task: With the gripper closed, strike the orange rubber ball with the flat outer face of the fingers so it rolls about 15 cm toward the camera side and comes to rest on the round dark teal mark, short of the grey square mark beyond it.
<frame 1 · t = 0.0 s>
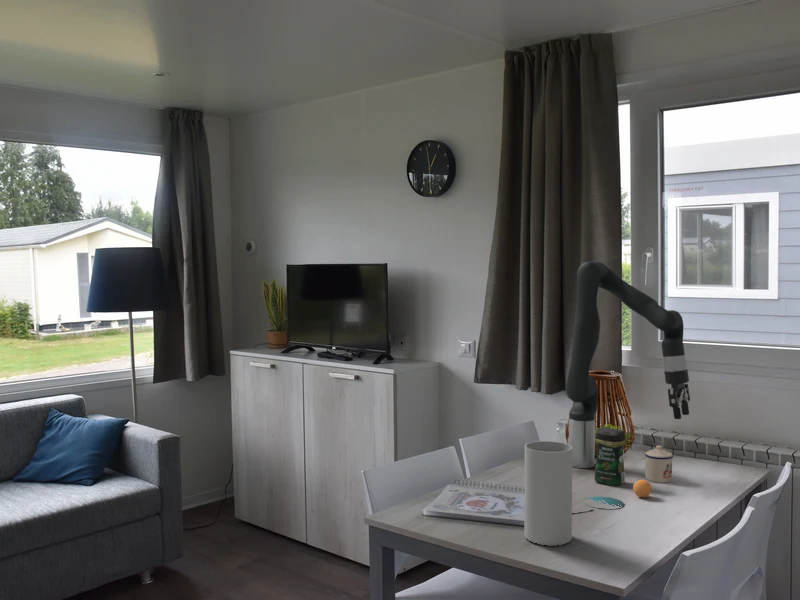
hand: (681, 416, 250), 22 cm above the table, tool pointing down, fingers open, 8 cm apart
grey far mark: (571, 508, 224), on the table
ball: (642, 488, 234), on the table
coffee jar: (609, 483, 250), on the table
teal mark: (603, 503, 228), on the table
teacup with lid: (659, 479, 255), on the table
cylinder vase: (547, 539, 199), on the table
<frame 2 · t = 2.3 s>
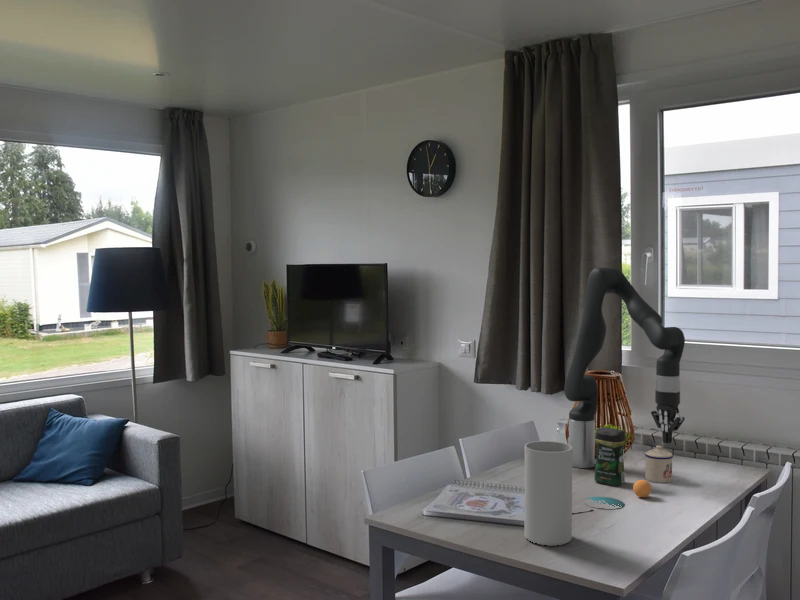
hand: (667, 442, 238), 16 cm above the table, tool pointing down, fingers closed
nothing on the table moved.
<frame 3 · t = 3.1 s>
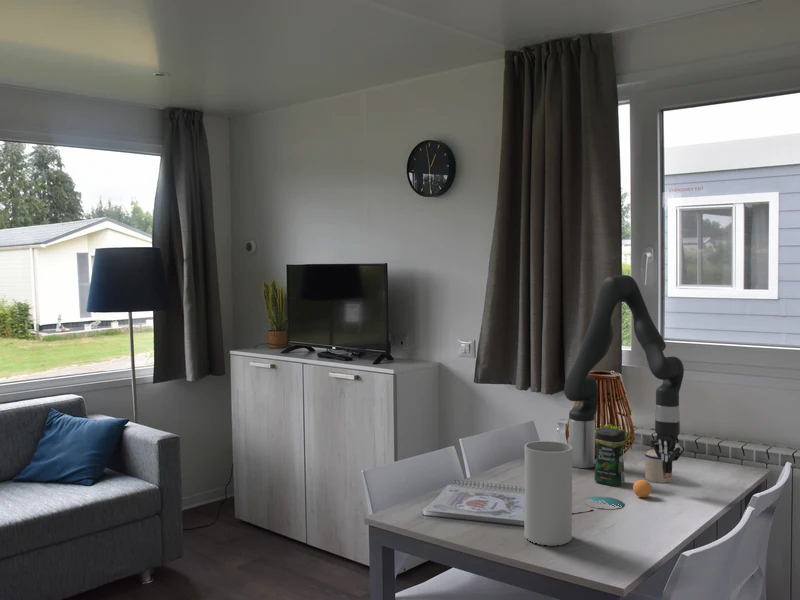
hand: (667, 472, 238), 7 cm above the table, tool pointing down, fingers closed
nothing on the table moved.
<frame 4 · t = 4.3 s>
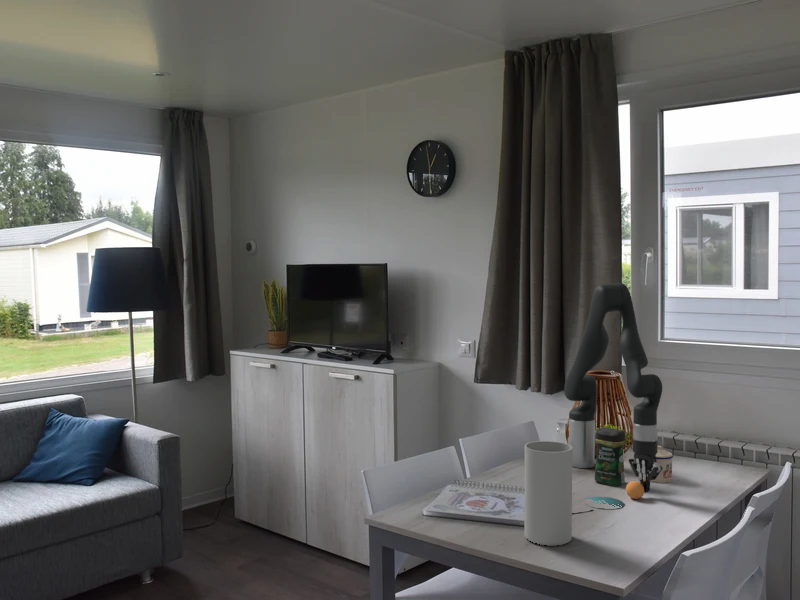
hand: (645, 491, 234), 2 cm above the table, tool pointing down, fingers closed
ball: (634, 490, 233), on the table
everything else where it was.
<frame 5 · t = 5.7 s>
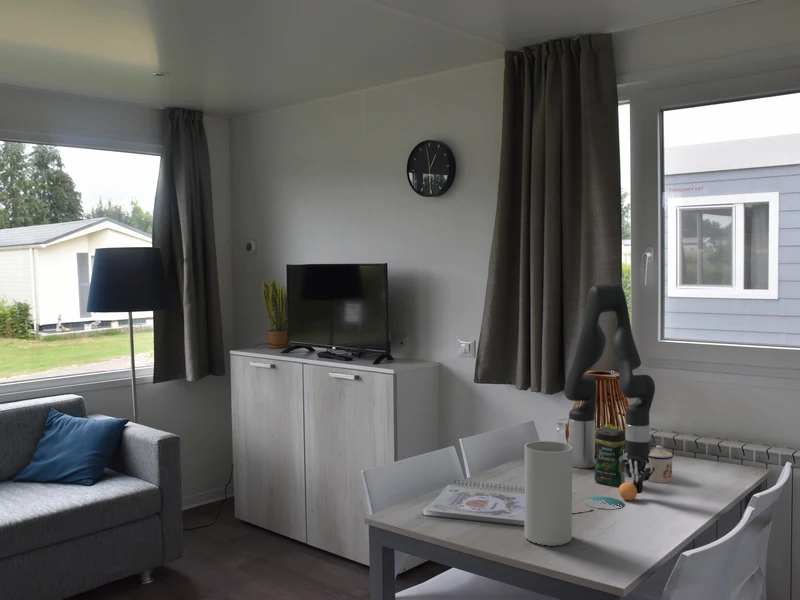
hand: (638, 492, 233), 2 cm above the table, tool pointing down, fingers closed
ball: (627, 491, 232), on the table, touching gripper
everything else where it was.
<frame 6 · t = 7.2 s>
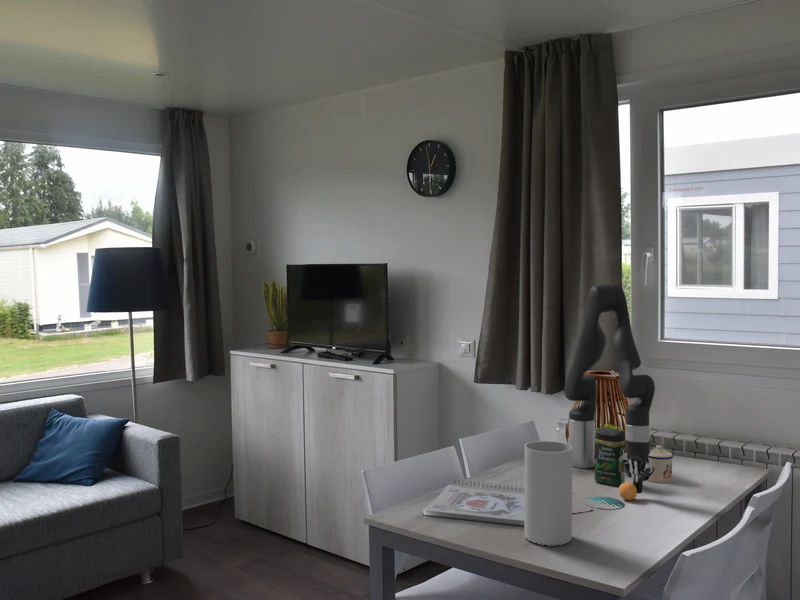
hand: (637, 492, 233), 2 cm above the table, tool pointing down, fingers closed
nothing on the table moved.
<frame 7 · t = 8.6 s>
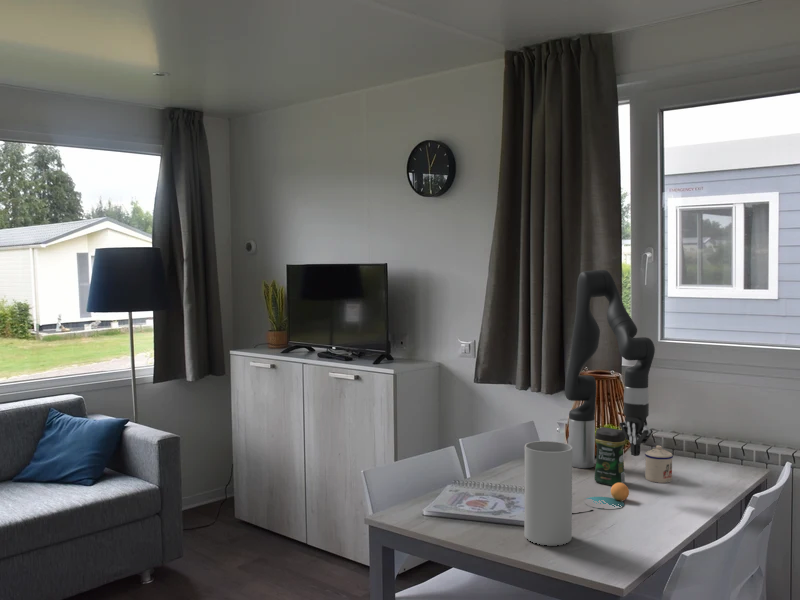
hand: (635, 455, 233), 14 cm above the table, tool pointing down, fingers closed
ball: (619, 491, 231), on the table
everything else where it was.
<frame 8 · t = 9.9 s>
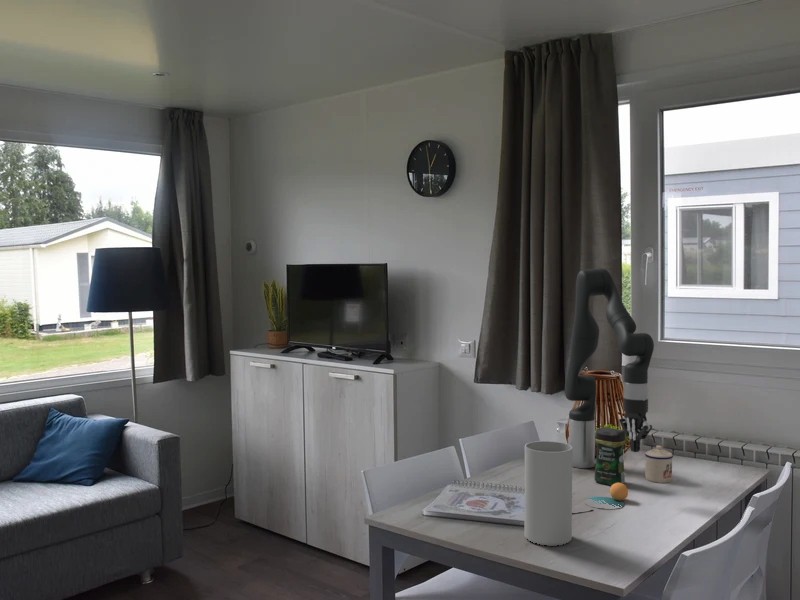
hand: (635, 451, 233), 15 cm above the table, tool pointing down, fingers closed
nothing on the table moved.
at the end: ball 6.1 cm from the teal mark (horizontally); ball at rest at the end (0.0 cm/s); ball moved 8.9 cm from its start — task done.
